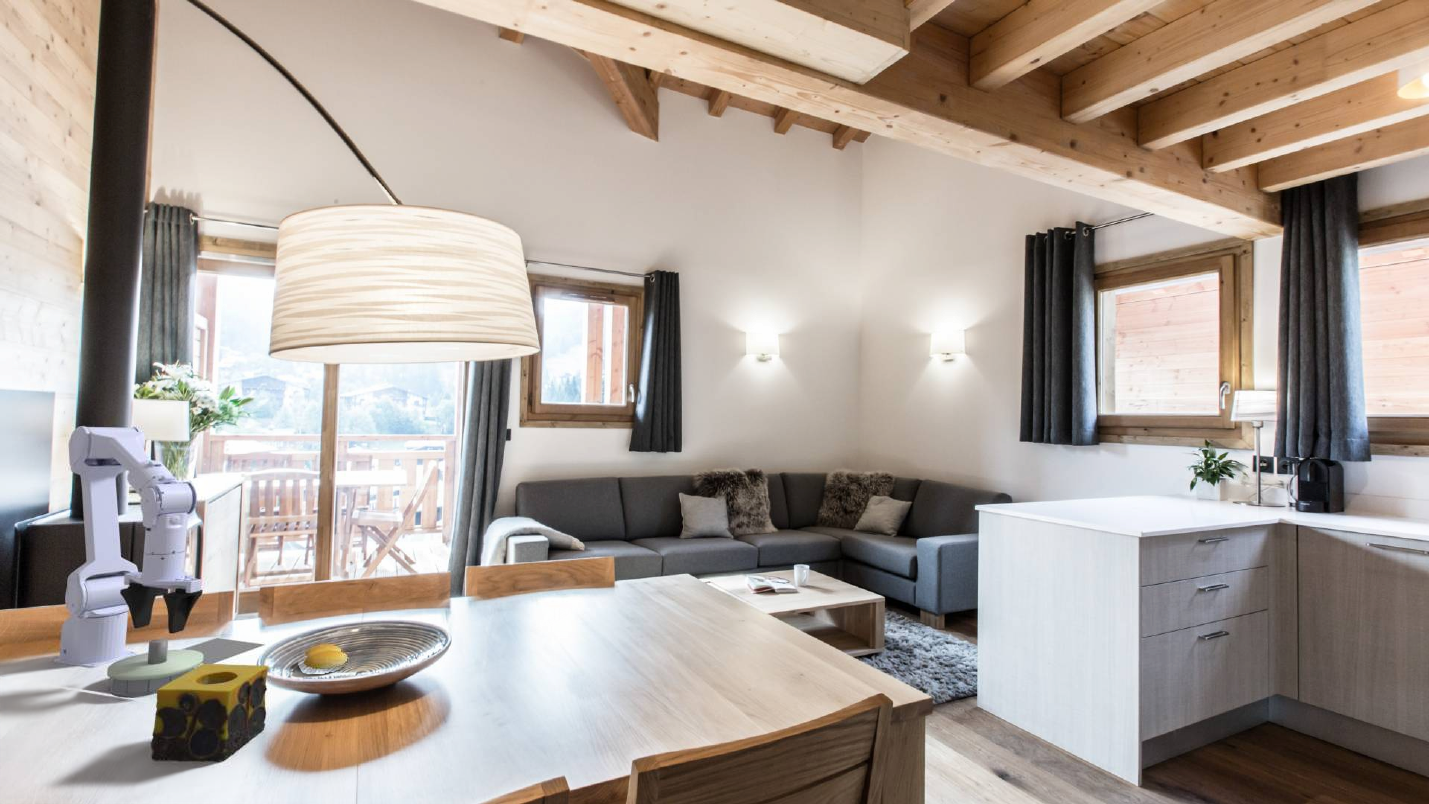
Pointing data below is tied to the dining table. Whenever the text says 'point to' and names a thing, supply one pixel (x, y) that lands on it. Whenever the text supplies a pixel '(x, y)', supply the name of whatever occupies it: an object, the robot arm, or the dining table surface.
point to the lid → (155, 663)
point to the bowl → (140, 685)
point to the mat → (222, 649)
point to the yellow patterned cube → (209, 712)
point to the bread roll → (325, 657)
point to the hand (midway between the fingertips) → (158, 629)
